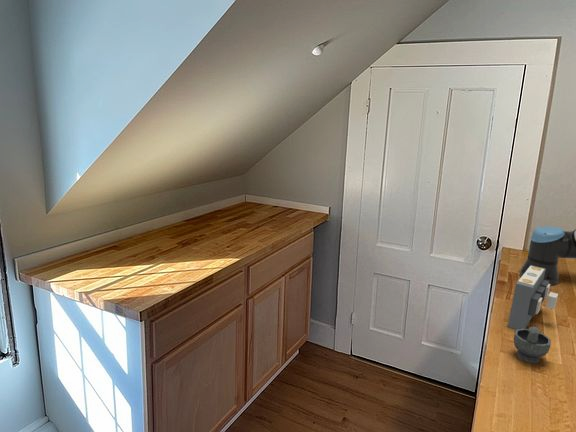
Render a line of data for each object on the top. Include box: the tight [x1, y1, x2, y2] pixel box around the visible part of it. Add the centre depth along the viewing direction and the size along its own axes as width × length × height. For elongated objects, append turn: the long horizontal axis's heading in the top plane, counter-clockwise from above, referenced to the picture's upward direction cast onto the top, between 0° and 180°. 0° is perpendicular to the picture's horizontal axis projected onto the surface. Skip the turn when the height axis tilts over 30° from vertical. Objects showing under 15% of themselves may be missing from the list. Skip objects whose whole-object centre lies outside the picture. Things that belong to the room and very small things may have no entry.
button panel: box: [507, 265, 549, 330], centre depth 153 cm, size 24×7×16 cm, turn 141°
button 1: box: [535, 297, 543, 315], centre depth 145 cm, size 4×2×4 cm, turn 141°
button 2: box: [544, 284, 551, 300], centre depth 157 cm, size 4×2×4 cm, turn 141°
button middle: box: [545, 291, 559, 311], centre depth 149 cm, size 4×2×4 cm, turn 141°
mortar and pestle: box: [513, 326, 552, 364], centre depth 128 cm, size 11×9×12 cm
